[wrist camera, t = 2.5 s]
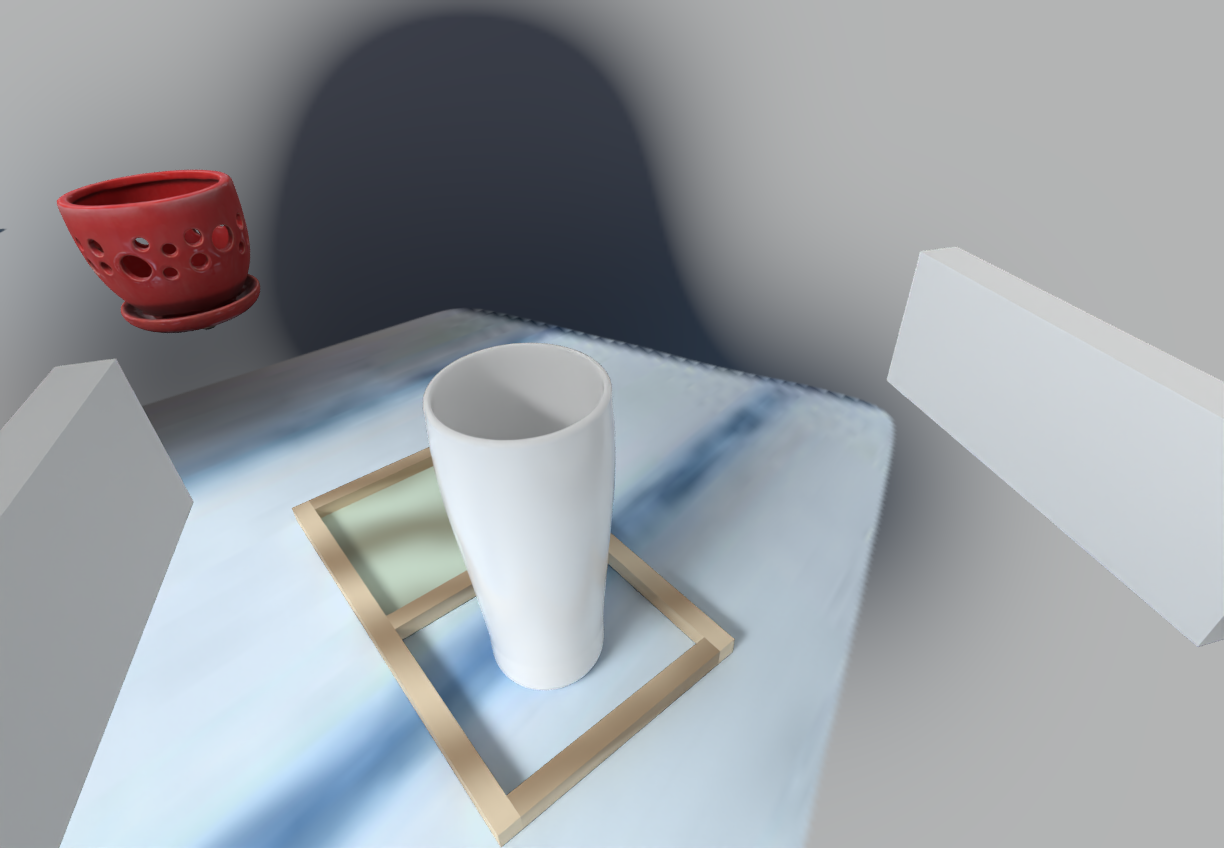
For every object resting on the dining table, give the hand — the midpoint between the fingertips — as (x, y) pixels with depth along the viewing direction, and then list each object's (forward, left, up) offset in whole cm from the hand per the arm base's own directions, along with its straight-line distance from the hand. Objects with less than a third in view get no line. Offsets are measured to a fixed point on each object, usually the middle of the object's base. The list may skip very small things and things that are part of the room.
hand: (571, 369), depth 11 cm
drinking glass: (-9, +4, -22) cm, 24 cm away
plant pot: (-62, 0, -22) cm, 65 cm away
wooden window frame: (-15, +4, -21) cm, 26 cm away
